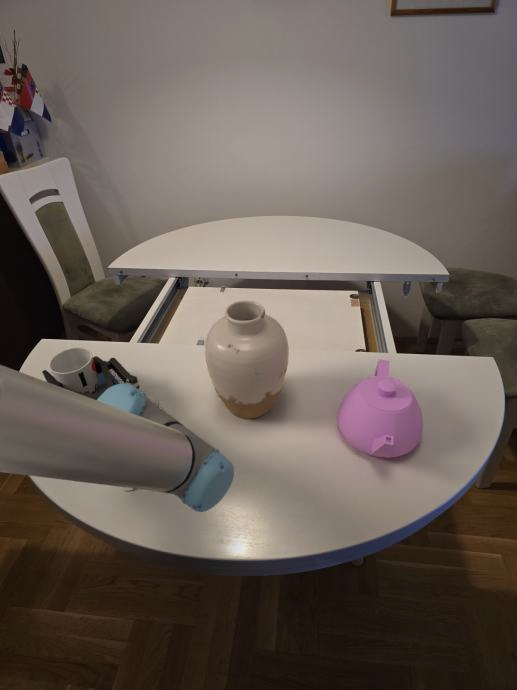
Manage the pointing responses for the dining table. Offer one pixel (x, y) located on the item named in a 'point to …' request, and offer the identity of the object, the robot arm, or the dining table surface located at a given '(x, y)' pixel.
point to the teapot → (381, 415)
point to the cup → (75, 370)
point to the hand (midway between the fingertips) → (64, 365)
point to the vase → (247, 359)
